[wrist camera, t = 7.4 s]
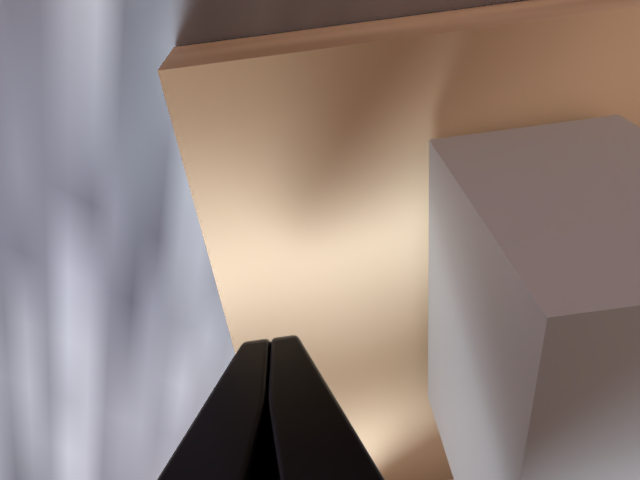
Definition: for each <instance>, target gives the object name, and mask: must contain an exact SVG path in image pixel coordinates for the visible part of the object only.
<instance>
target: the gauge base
mask: <svg viewBox="0 0 640 480" xmlns="http://www.w3.org/2000/svg"><path fill="white" fill-rule="evenodd" d="M158 74H159V77H160V81H161V85H162V88H163V92H164V96H165V99H166V103H167V106H168V110H169V114H170V117H171V121H172V125H173V128H174V132H175V136H176V139H177V143H178V147H179V150H180V154H181V157H182V161H183V165H184V168H185V172H186V176H187V179H188V183H189V187H190V190H191V194H192V197H193V201H194V205H195V208H196V212H197V216H198V219H199V223H200V227H201V230H202V234H203V238H204V241H205V245H206V248H207V252H208V256H209V259H210V263H211V267H212V270H213V274H214V278H215V281H216V285H217V288H218V292H219V296H220V299H221V303H222V307H223V310H224V314H225V318H226V321H227V325H228V329H229V332H230V336H231V339H232V343H233V347H234V350H235V354H236V353H237V351H238V349H239V348H240V346H241V345H242V344H243V343H244V342H246V341H252V340H259V339H268V340H270V342H271V341H272V339H273V338H275V337H282V336H290V335H296V336H298V337H299V338H300V340H301V342H302V343H303V345H304V347H305V348H306V350H307V352H308V353H309V355H310V357H311V358H312V360H313V362H314V363H315V365H316V367H317V368H318V370H319V372H320V373H321V375H322V377H323V378H324V380H325V382H326V383H327V385H328V387H329V388H330V390H331V391H332V393H333V395H334V396H335V398H336V400H337V401H338V403H339V405H340V406H341V408H342V410H343V411H344V413H345V415H346V416H347V418H348V420H349V421H350V423H351V425H352V426H353V428H354V430H355V431H356V433H357V435H358V436H359V438H360V440H361V441H362V443H363V445H364V446H365V448H366V450H367V451H368V453H369V455H370V456H371V458H372V460H373V461H374V463H375V465H376V466H377V468H378V469H379V471H380V473H381V474H382V476H383V478H384V479H385V480H454V478H453V475H452V472H451V469H450V466H449V462H448V459H447V456H446V453H445V450H444V447H443V443H442V440H441V437H440V434H439V431H438V428H437V424H436V421H435V418H434V415H433V412H432V408H431V405H430V402H429V399H428V268H429V140H431V139H439V138H446V137H454V136H461V135H469V134H476V133H484V132H491V131H499V130H506V129H514V128H521V127H529V126H536V125H544V124H552V123H559V122H567V121H574V120H582V119H589V118H597V117H604V116H612V115H620V116H622V117H624V118H625V119H627V120H629V121H630V122H632V123H634V124H635V125H637V126H639V127H640V0H528V1H520V2H512V3H505V4H497V5H490V6H482V7H474V8H467V9H459V10H452V11H444V12H437V13H429V14H421V15H414V16H406V17H399V18H391V19H383V20H376V21H368V22H361V23H353V24H345V25H338V26H330V27H323V28H315V29H307V30H300V31H292V32H285V33H277V34H269V35H262V36H254V37H247V38H239V39H232V40H224V41H216V42H209V43H201V44H194V45H186V46H178V47H174V48H173V49H172V51H171V52H170V54H169V55H168V56H167V58H166V59H165V61H164V62H163V64H162V65H161V67H160V68H159V69H158Z"/></svg>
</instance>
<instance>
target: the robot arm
mask: <svg viewBox="0 0 640 480" xmlns="http://www.w3.org/2000/svg"><path fill="white" fill-rule="evenodd" d="M158 480H385V479H384V478H383V476H382V474H381V473H380V471H379V469H378V468H377V466H376V465H375V463H374V461H373V460H372V458H371V456H370V455H369V453H368V451H367V450H366V448H365V446H364V445H363V443H362V441H361V440H360V438H359V436H358V435H357V433H356V431H355V430H354V428H353V426H352V425H351V423H350V421H349V420H348V418H347V416H346V415H345V413H344V411H343V410H342V408H341V406H340V405H339V403H338V401H337V400H336V398H335V396H334V395H333V393H332V391H331V390H330V388H329V387H328V385H327V383H326V382H325V380H324V378H323V377H322V375H321V373H320V372H319V370H318V368H317V367H316V365H315V363H314V362H313V360H312V358H311V357H310V355H309V353H308V352H307V350H306V348H305V347H304V345H303V343H302V342H301V340H300V338H299V337H298V336H296V335H290V336H282V337H275V338H273V339H272V341H271V342H270V340H268V339H259V340H252V341H246V342H244V343H243V344H242V345H241V346H240V348H239V349H238V351H237V353H236V354H235V356H234V357H233V359H232V361H231V362H230V364H229V365H228V367H227V369H226V370H225V372H224V373H223V375H222V377H221V378H220V380H219V381H218V383H217V385H216V386H215V388H214V390H213V391H212V393H211V394H210V396H209V398H208V399H207V401H206V402H205V404H204V406H203V407H202V409H201V410H200V412H199V414H198V415H197V417H196V418H195V420H194V422H193V423H192V425H191V426H190V428H189V430H188V431H187V433H186V435H185V436H184V438H183V439H182V441H181V443H180V444H179V446H178V447H177V449H176V451H175V452H174V454H173V455H172V457H171V459H170V460H169V462H168V463H167V465H166V467H165V468H164V470H163V471H162V473H161V475H160V476H159V478H158Z"/></svg>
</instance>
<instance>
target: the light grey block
mask: <svg viewBox="0 0 640 480" xmlns="http://www.w3.org/2000/svg"><path fill="white" fill-rule="evenodd" d="M428 399H429V402H430V405H431V408H432V412H433V415H434V418H435V421H436V424H437V428H438V431H439V434H440V437H441V440H442V443H443V447H444V450H445V453H446V456H447V459H448V462H449V466H450V469H451V472H452V475H453V478H454V480H640V127H639V126H637V125H635V124H634V123H632V122H630V121H629V120H627V119H625V118H624V117H622V116H620V115H612V116H604V117H597V118H589V119H582V120H574V121H567V122H559V123H552V124H544V125H536V126H529V127H521V128H514V129H506V130H499V131H491V132H484V133H476V134H469V135H461V136H454V137H446V138H439V139H431V140H429V268H428Z"/></svg>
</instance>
